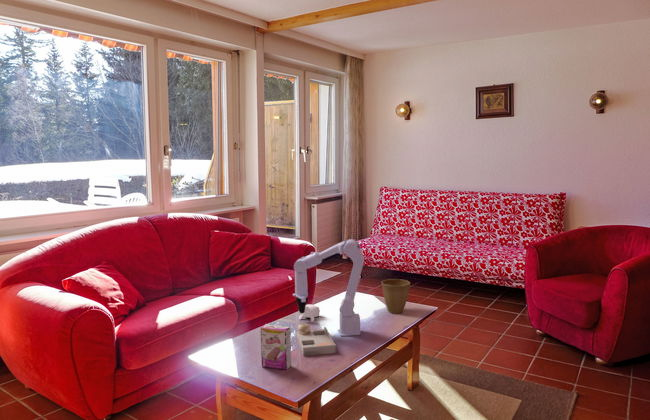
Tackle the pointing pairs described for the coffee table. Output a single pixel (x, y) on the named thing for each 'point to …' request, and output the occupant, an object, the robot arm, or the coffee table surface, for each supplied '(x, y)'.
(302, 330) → the beige rounded knob
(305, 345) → the trap board
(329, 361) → the coffee table surface
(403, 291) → the plant pot
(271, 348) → the candy bar box
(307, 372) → the coffee table surface
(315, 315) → the white animal figurine
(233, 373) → the coffee table surface
